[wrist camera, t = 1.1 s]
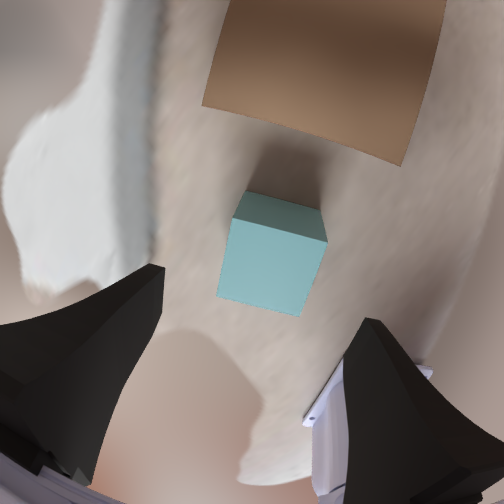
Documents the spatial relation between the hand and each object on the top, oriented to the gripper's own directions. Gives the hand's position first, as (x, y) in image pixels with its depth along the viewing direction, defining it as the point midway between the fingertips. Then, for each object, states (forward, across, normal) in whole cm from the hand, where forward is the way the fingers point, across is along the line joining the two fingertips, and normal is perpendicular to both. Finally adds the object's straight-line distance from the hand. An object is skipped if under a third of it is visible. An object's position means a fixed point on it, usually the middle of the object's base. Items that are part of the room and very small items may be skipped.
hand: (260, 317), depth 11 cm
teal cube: (+7, 0, 0) cm, 7 cm away
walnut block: (+7, 0, -10) cm, 12 cm away
